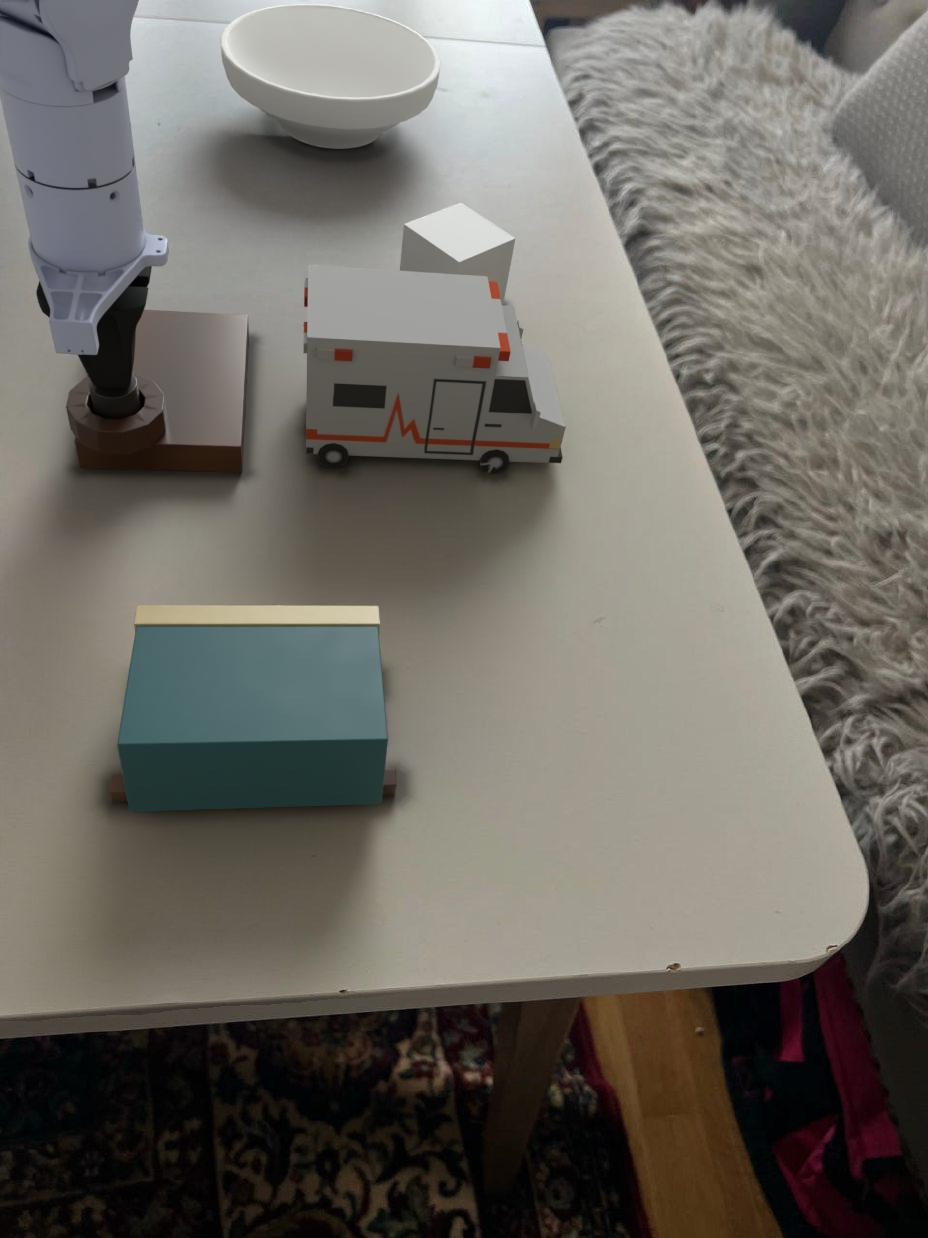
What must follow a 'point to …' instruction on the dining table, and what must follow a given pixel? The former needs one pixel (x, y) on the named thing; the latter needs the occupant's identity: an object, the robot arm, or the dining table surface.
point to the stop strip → (119, 794)
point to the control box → (174, 398)
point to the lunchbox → (253, 707)
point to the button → (115, 400)
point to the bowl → (330, 71)
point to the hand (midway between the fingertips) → (112, 380)
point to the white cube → (458, 246)
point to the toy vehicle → (423, 371)
